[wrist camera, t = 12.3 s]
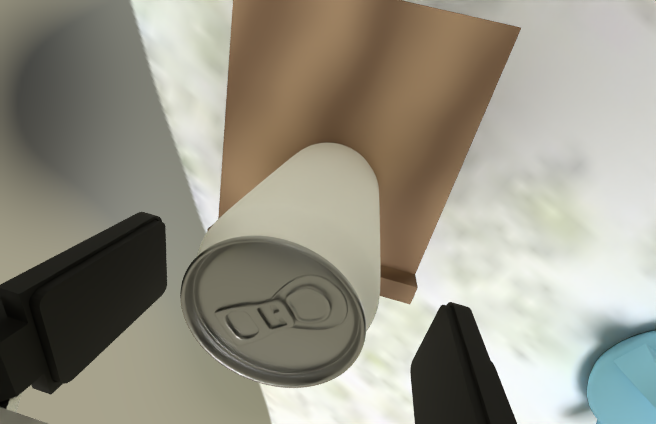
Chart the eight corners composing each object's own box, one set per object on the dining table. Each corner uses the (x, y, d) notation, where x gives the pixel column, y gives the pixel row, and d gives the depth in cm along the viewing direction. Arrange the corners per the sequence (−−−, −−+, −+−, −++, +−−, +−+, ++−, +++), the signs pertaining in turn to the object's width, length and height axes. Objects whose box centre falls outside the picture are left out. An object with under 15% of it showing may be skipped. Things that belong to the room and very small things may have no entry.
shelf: (481, 43, 20) (536, 21, 13) (401, 249, 27) (410, 304, 20) (272, -5, 21) (221, -50, 14) (248, 207, 28) (206, 246, 21)
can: (393, 215, 19) (414, 379, 8) (308, 244, 21) (237, 410, 10) (355, 123, 17) (319, 183, 7) (265, 164, 19) (123, 265, 8)
